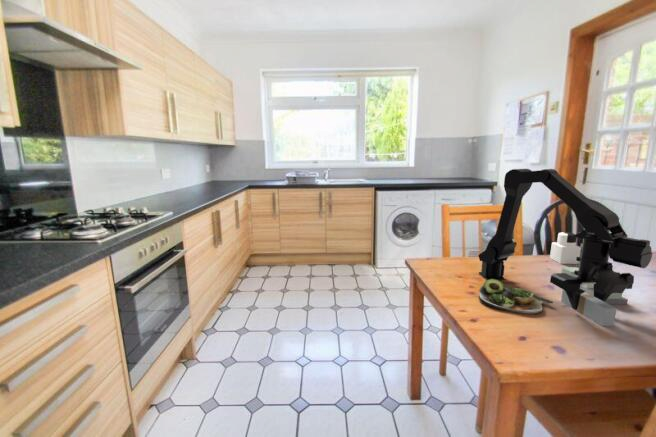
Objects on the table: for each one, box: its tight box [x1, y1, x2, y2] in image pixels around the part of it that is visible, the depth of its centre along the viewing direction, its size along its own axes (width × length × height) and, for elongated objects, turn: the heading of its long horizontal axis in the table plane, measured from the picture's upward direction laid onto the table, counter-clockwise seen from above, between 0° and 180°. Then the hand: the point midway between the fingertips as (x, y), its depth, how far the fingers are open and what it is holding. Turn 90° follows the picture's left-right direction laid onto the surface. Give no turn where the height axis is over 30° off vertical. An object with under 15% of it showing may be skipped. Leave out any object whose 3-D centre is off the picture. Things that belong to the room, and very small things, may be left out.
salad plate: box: [478, 279, 553, 315], centre depth 95 cm, size 19×18×5 cm
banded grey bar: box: [560, 289, 618, 327], centre depth 87 cm, size 3×14×5 cm, turn 1°
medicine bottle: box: [549, 231, 581, 265], centre depth 127 cm, size 7×7×12 cm
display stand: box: [561, 266, 628, 306], centre depth 100 cm, size 8×18×5 cm, turn 1°
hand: (585, 309), depth 87 cm, fingers open, 6 cm apart
